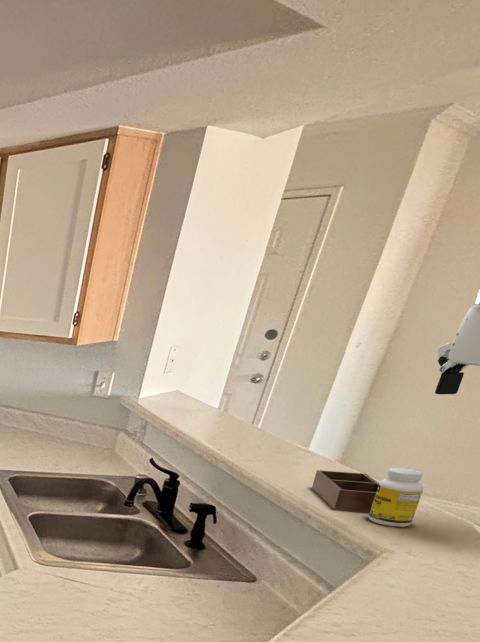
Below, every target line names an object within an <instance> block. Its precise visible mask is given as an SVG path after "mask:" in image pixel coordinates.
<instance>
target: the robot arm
mask: <svg viewBox="0 0 480 642" xmlns="http://www.w3.org/2000/svg"><path fill="white" fill-rule="evenodd" d="M476 292H477V293H476V295H475V298H474V301H473V304H472V305H471V306H470V308H469V309H468V310H467V312H466V314H465V316H464V317H463V318H462V321H461V323H460V325H459V327H458V329H457V331H456V334H455V336H454V338H453V341H450V342H448V343H446V344H444V345H441V346H439V347H438V348H437V354H438V359H437V363H438V364H439V366H440V367H439V369H438V371H439V372H440V373H441V374H440V376H439V379H438V383H437V385H436V388H435V392H434V394H435V395H456V394H457V393H458V391H459V389H460V386H461V384H462V380H463V378H464V375H465V372H462V371H463V370H464V369H466V368H467V367H469V366H475V367H480V285H479V287H478V289H477V291H476Z"/></svg>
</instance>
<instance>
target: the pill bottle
mask: <svg viewBox="0 0 480 642" xmlns="http://www.w3.org/2000/svg"><path fill="white" fill-rule="evenodd" d="M423 475H424V473H423V472H422V471H419V470H416V469H411V468H404V467H392V468H391V467H390V468H389V469H388V471H387V475H386V476H387V478H383V479H382V480H381V481H380V482H378V483H379V485H378V489H377V492H376V495H375V498H374V501H373V504H372V507H371V510H370V513H368V519H369V520H370V521H372V522H373V523H376V524H379V525H383V526H388V527H396V528H397V527H398V528H399V527H400V528H404V527H409V526H411V524H412V522H413V519H414V517H415V514H416V511H417V508H418V505H419V503H420V501H421V497H422V494H423V491H424V486H423V484H422V483H421V482H419V481H421V479H422V477H423Z"/></svg>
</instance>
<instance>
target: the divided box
mask: <svg viewBox="0 0 480 642" xmlns="http://www.w3.org/2000/svg"><path fill="white" fill-rule="evenodd" d="M379 483H380V482H378V481H377V480H375V479H374V478H372V477H371V476H370V475H368V474H367V473H362V472H349V471H348V472H347V471H334V470H319V469H317V470H316V472H315V474H314V478H313V482H312V486H311V490H313V491H314V492H315V494H317V495H318V496H319V497H320V498H321V499H322V500H323V501H324V502H325V503H327V505H329V506H330V507H331V508H332V509H333V510H334V511H343V512H355V513H363V514H364V513H365V514H369V513H370V510H371V507H372V504H373V501H374V498H375V495H376V492H377V489H378V485H379Z"/></svg>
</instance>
